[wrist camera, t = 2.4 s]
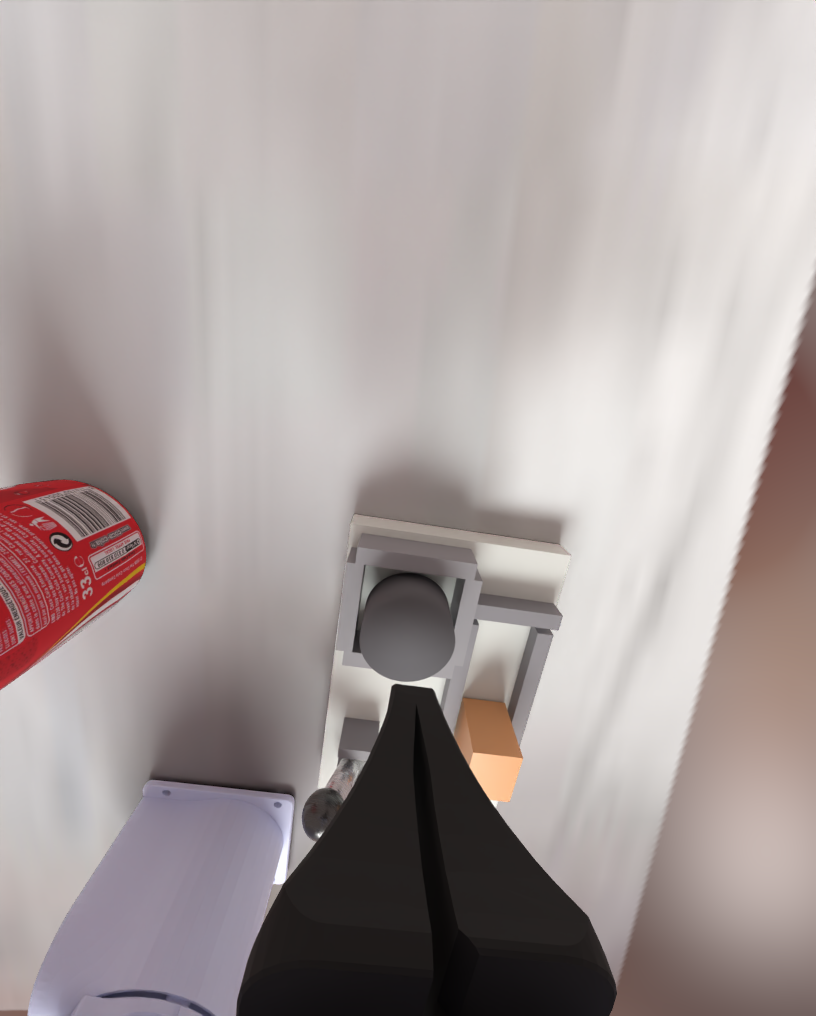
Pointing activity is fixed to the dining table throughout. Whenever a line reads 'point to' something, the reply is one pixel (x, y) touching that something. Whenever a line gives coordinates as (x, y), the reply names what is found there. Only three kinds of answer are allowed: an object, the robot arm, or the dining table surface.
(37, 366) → the dining table surface
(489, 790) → the orange flat-faced block
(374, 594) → the button
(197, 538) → the dining table surface
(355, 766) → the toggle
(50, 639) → the soda can
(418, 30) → the dining table surface
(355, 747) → the panel
